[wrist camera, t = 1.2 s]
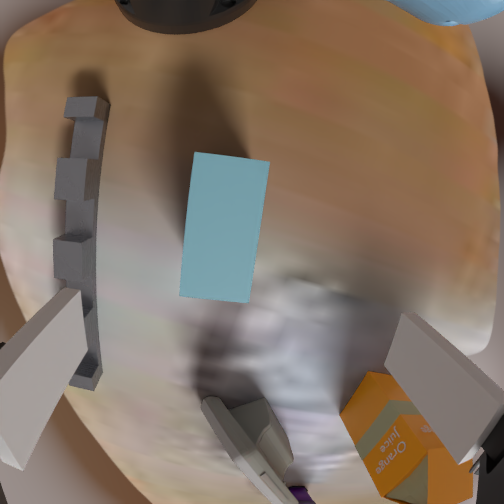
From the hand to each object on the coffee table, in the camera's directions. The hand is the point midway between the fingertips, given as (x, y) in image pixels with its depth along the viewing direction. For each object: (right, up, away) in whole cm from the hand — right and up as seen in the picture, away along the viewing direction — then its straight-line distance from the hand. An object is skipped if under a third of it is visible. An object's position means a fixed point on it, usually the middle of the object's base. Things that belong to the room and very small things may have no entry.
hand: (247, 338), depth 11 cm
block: (-3, +7, +16) cm, 18 cm away
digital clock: (-1, -19, +23) cm, 30 cm away
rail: (-16, +3, +15) cm, 22 cm away
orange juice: (+17, -16, +24) cm, 34 cm away
